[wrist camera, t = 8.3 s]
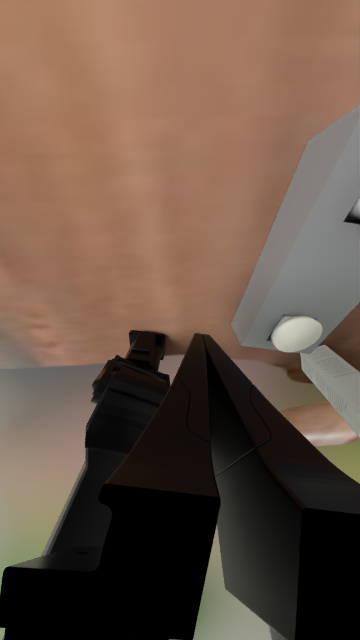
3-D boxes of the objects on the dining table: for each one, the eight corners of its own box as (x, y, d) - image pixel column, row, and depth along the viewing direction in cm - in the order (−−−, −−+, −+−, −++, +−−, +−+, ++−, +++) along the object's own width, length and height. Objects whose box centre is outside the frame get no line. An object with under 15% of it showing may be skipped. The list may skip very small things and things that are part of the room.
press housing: (287, 332, 23) (309, 354, 19) (231, 324, 23) (241, 345, 19) (412, 161, 12) (526, 127, 8) (307, 141, 12) (372, 94, 8)
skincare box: (325, 363, 27) (405, 440, 17) (300, 369, 29) (362, 443, 19) (326, 343, 24) (422, 421, 14) (299, 350, 26) (371, 427, 16)
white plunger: (281, 330, 22) (304, 354, 17) (250, 326, 21) (266, 349, 17) (300, 302, 19) (333, 322, 15) (266, 297, 19) (289, 316, 15)
